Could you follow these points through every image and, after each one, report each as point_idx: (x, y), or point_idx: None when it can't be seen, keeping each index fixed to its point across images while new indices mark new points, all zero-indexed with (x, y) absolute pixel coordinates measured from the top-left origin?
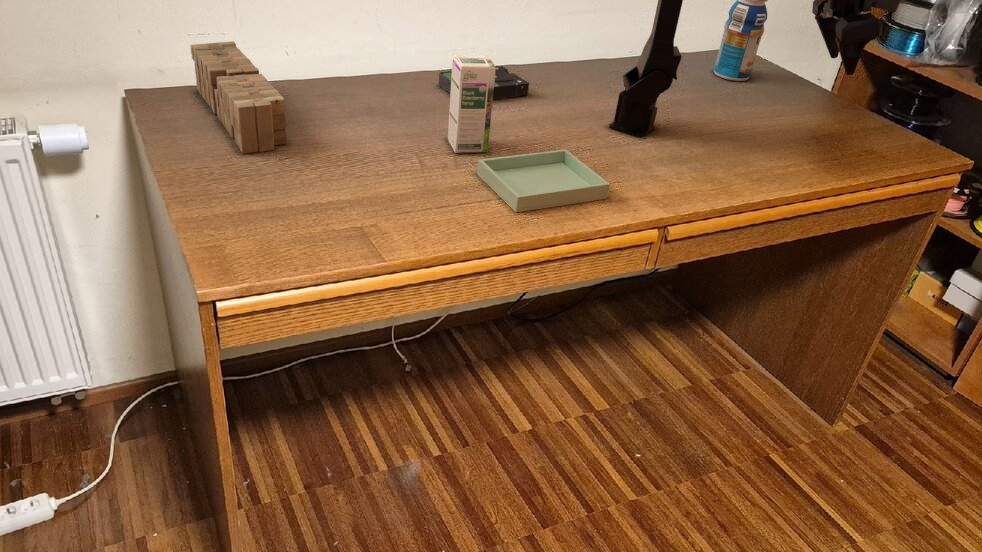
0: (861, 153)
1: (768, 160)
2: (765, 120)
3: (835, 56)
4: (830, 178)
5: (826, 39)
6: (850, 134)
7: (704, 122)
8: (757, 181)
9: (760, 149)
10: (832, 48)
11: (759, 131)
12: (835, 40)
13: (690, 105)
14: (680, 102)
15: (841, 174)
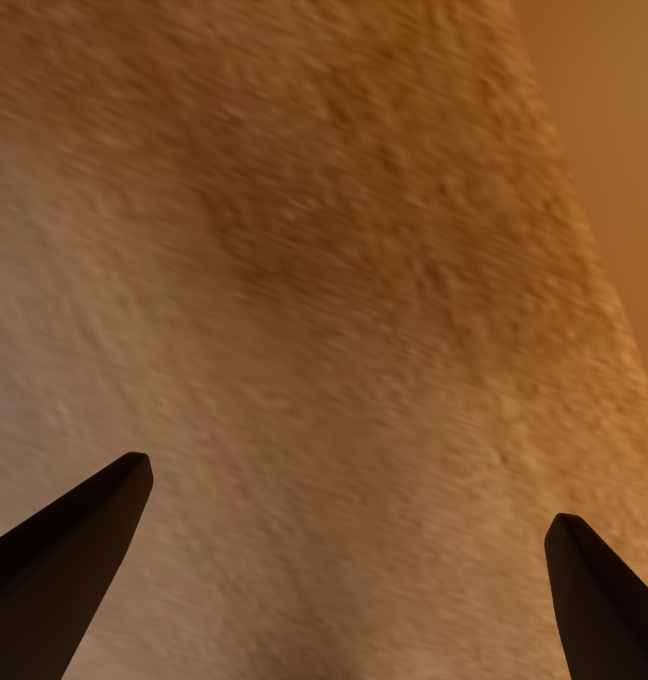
0: (361, 140)
1: (470, 503)
2: (144, 399)
3: (146, 473)
4: (593, 357)
5: (58, 668)
6: (180, 109)
7: (219, 586)
8: None
9: (389, 497)
10: (111, 549)
11: (245, 451)
12: (57, 600)
13: None
14: None
15: (559, 304)
